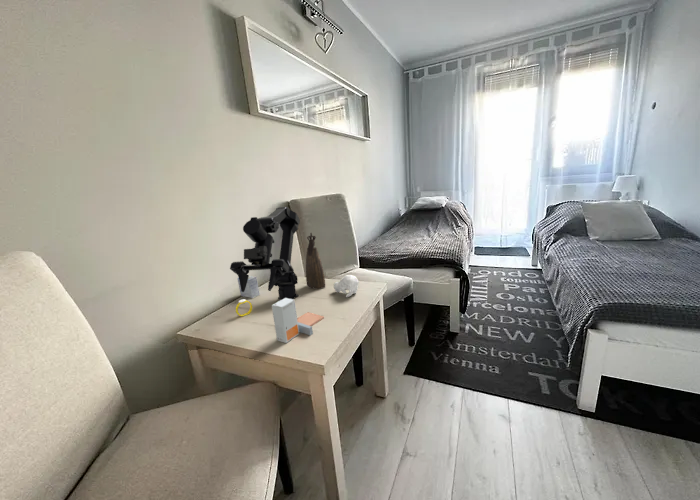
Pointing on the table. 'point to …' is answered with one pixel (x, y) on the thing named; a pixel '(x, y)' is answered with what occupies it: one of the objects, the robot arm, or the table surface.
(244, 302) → the watch
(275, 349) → the table surface
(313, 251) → the statue
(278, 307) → the skincare box
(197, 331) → the table surface
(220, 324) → the table surface
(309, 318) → the terracotta tile
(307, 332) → the low wall
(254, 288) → the medicine box
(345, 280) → the white animal figurine
